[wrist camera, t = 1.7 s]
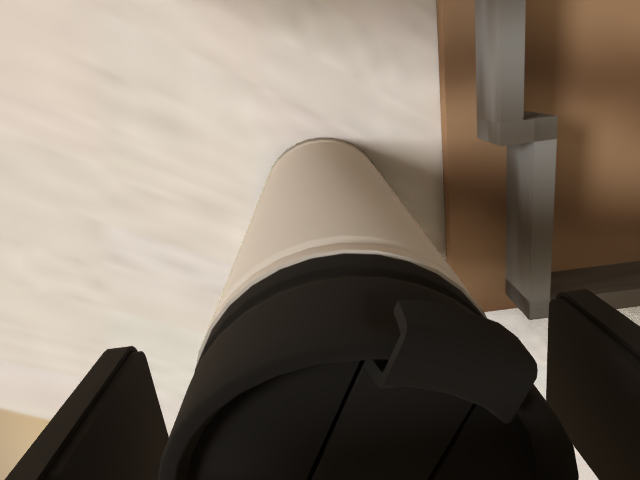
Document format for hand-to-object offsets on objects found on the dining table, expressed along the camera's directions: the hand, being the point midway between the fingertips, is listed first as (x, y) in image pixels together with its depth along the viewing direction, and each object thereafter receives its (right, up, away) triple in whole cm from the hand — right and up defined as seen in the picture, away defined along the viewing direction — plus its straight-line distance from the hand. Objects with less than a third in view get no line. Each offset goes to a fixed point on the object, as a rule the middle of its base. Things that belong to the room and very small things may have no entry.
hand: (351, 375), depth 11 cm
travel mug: (0, +6, +15) cm, 16 cm away
